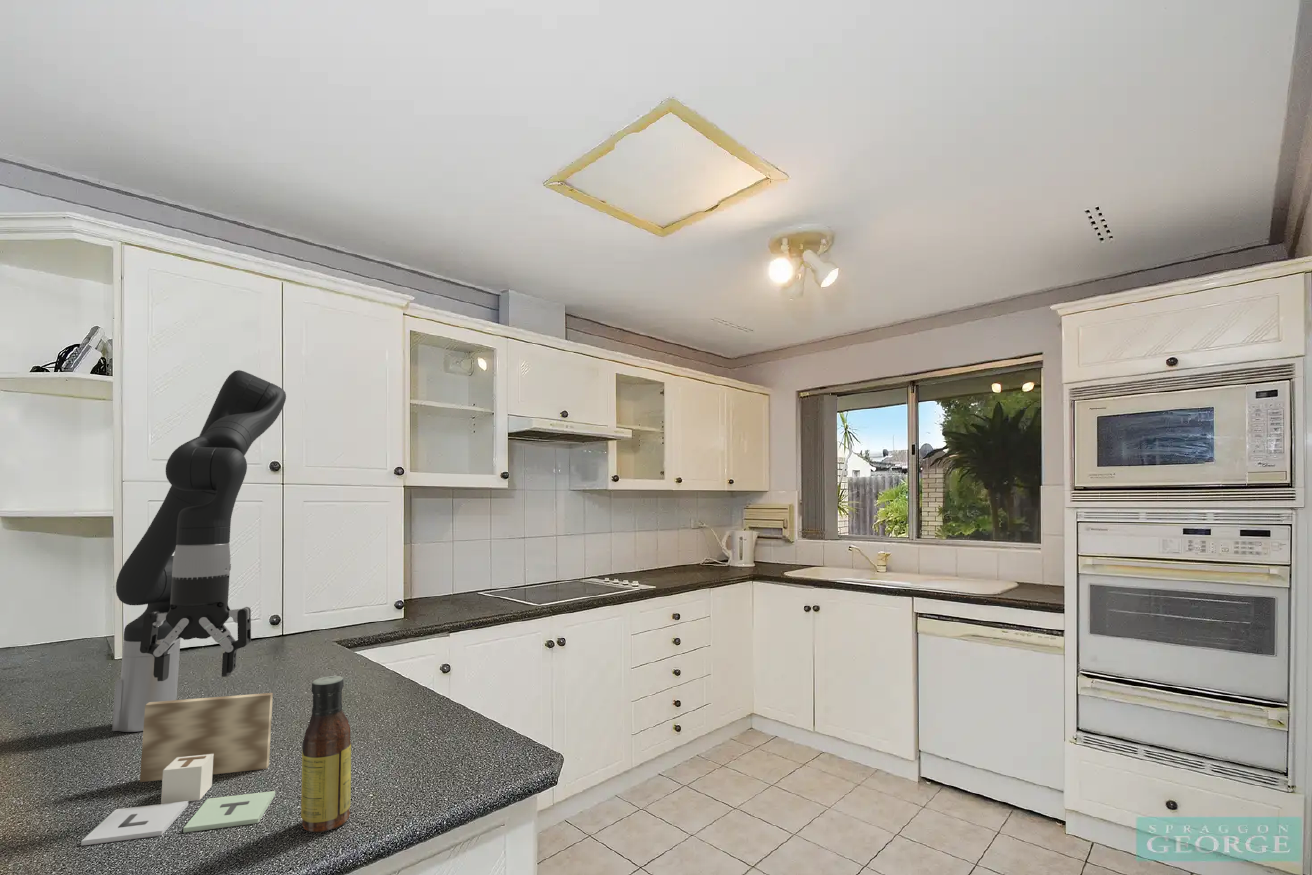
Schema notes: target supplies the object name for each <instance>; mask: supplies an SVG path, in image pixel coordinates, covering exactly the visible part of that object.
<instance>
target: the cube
mask: <svg viewBox="0 0 1312 875" xmlns="http://www.w3.org/2000/svg"><path fill="white" fill-rule="evenodd" d="M213 756H214V754H206V755H196V756H186V757H177V758H176V759H175V760H174V761H173V762H171V763H170V764H169V765H168V766H167V767H166V768H165V769H164V770H163V779H162V780H161V781H162V782H161V785H162V786H161V797H160V804H166V803H175V802H184V801H188V802H193V801H194V802H195V801H200V800H201V799H202V798H203V797H204V796H205V794H206V793H207V792H208V791H209V790H210V789H211V788H212V786H213V774H212V773H213Z"/></svg>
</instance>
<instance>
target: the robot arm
mask: <svg viewBox="0 0 1312 875" xmlns="http://www.w3.org/2000/svg"><path fill="white" fill-rule="evenodd" d="M286 400H287V394H286V391H285V390H284V389H283V388H282V387H280V386H278V385H277V384H275V383H271V382H270V381H267V380H265V379H263V378H261V377H259V376H256V375H254V374H251V373H249V372H247V371H244V370H241V369H237V370H234V371H233V372H231V373H230V374H229V375H228V376H227V378H226V379H225V381H224V382H223V384H222V386H221V387H220V390H219V391H218V394H217V396H216V398H215V401H214V403H213V405H212V407H211V409H210V412H209V414H208V416H207V418H206V421H205V423H204V425H203V428H202V429H201V432H200V433H199V436H197V437H195V438H193V439H190V440H188V441H187V442H185V443H183V444H181V445H179V446H178V447H177V448H176V449H174V450H173V452H172V453H171V454H170V455H169V458H168V459H167V461H166V464H165V476H166V479H167V481H168V482H169V484H170V485H171V486H170V488H169V489H168V491H167V494H166V496H165V498H164V499H163V502H162V504H161V505H160V507H159V509H158V511H157V512H156V514H155V516H154V518H153V520H152V522H151V523H150V525H149V526H148V528H147V529H146V531H145V533H144V534H143V536H142V537H141V539H140V541H139V542H138V543H137V545H136V546H135V548H134V549H133V550H132V552H131V554H130V555H129V556H128V558H127V559H126V561H125V562H124V564H123V565H122V567H121V568H120V571H119V573H118V576H117V579H116V583H115V593H116V596H117V598H118V600H119V601H120V602H121V603H123V604H124V605H128V606H143V605H147V606H146V609H145V610H144V612H143V613H142V614H140V615H139V616H138V617H137V618H136V619H134V620H132V621H130V622H129V623H127V624H126V625H125V627H124V628H123V629H124V630H123V640H122V642H123V645H122V654H121V655H122V656H121V658H122V659H121V670H120V671H121V672H120V678H119V679H117V680H116V681H115V684H114V685H115V686H114V697H113V698H114V700H113V701H114V702H113V710H112V711H113V714H112V728H111V732H123V733H124V732H125V733H133V732H143V729H144V714H145V705H146V704H147V703H149V702H159V701H172V700H178V699H177V698H178V697H177V696H178V683H179V680H178V679H179V667H180V666H179V665H180V651H181V650H180V648H181V639H183V641H186V640H187V641H188V640H189V641H190V640H192V639H199V640H201V639H206V640H207V639H209V638H212V639H213V640H214V641H215V642H216V643H218V644H219V645H220V646H221V648H222V649H223V651H224V652H223V653H222V662H221V678H226V677H227V678H228V677H229V676H231V674H232V672H234V671H235V669H236V667H237V665H236V664H237V653H238V652H237V651H238V650H239V649H241V648H242V649H243V648H245V647H246V646H247V645H250V643H251V641H252V623H251V622H252V617H251V616H252V615H251V613H252V610H251V607H249V606H244V607H242V608H236V609H235V608H234V609H231V608H230V607H229V590H230V574H231V573H230V572H231V569H232V566H231V565H232V563H231V548H230V540H231V525H232V524H231V522H232V515H233V511H234V507H235V504H236V501H237V498H238V495H239V492H240V490H241V488H242V485H243V483H244V481H245V478H246V475H247V471H248V462H247V459H246V457H245V456H246V454H247V452H248V451H249V449H250V447H251V446H252V444H253V443H254V442H255V441H256V440H257V439H258V438H259V437H261V435H263V434H264V433H265V432H266V431H267V430H268V429H269V428H270V427H271V426H272V425H273V424H274V423H275V421H276V420H277V419H278V417H279V415H280V414H281V412H282V410H283V408H284V406H285V403H286ZM229 618H232V620H233V622H234V623H235V624H237V640H236V639H235V637H233V635H232V634H231V632H230V630H229V629H228V628H227V626H226V625H225V623H226V622H227V621H228V620H229Z"/></svg>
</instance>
